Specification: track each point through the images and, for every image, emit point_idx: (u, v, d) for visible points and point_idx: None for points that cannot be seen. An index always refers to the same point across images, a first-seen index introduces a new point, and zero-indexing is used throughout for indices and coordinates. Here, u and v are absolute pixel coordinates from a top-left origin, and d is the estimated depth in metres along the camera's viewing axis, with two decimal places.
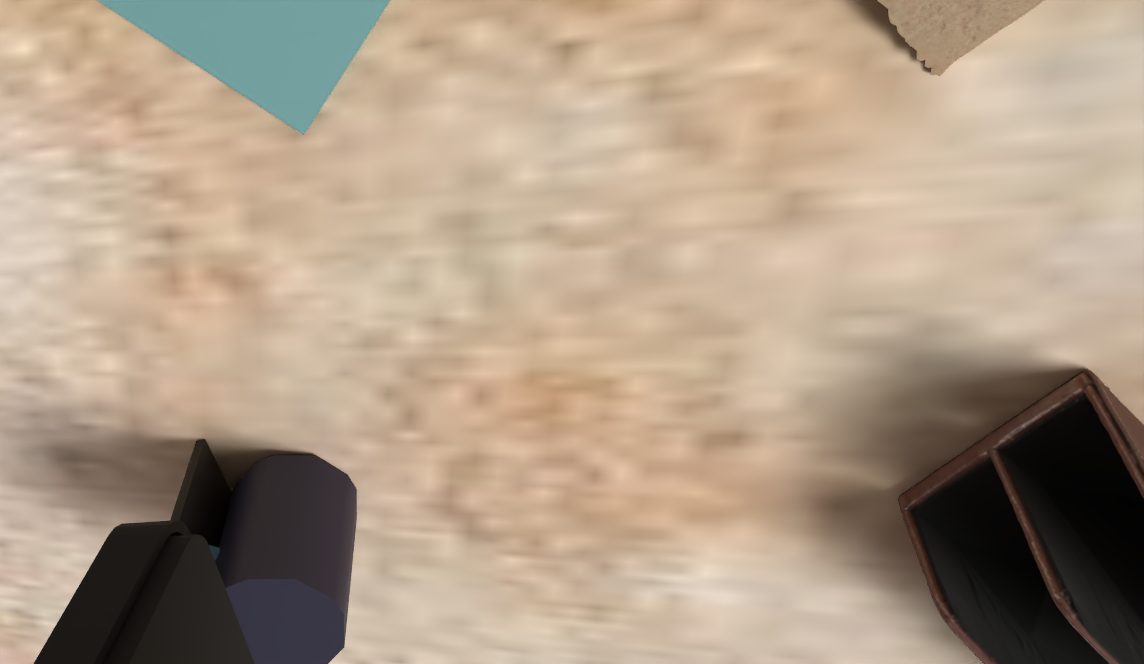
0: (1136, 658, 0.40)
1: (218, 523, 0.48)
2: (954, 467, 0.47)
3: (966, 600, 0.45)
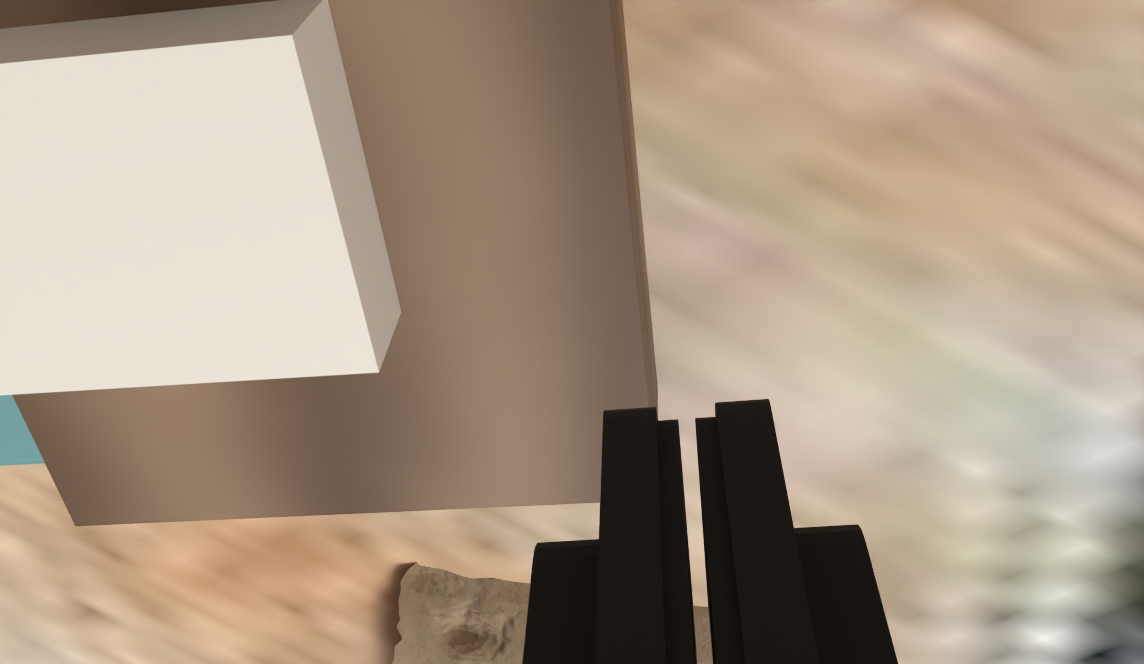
0: None
1: None
2: None
3: None
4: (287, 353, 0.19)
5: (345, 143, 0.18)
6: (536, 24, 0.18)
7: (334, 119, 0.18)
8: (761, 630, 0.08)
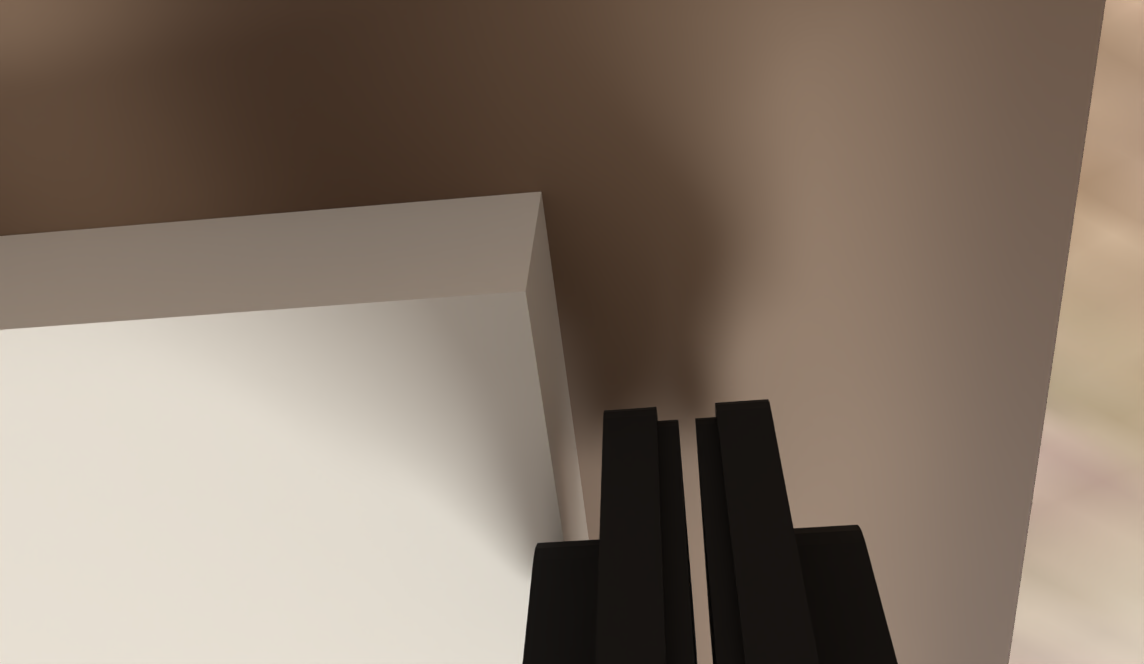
0: None
1: None
2: None
3: None
4: None
5: (562, 415, 0.12)
6: (950, 235, 0.11)
7: (555, 390, 0.11)
8: (761, 630, 0.08)
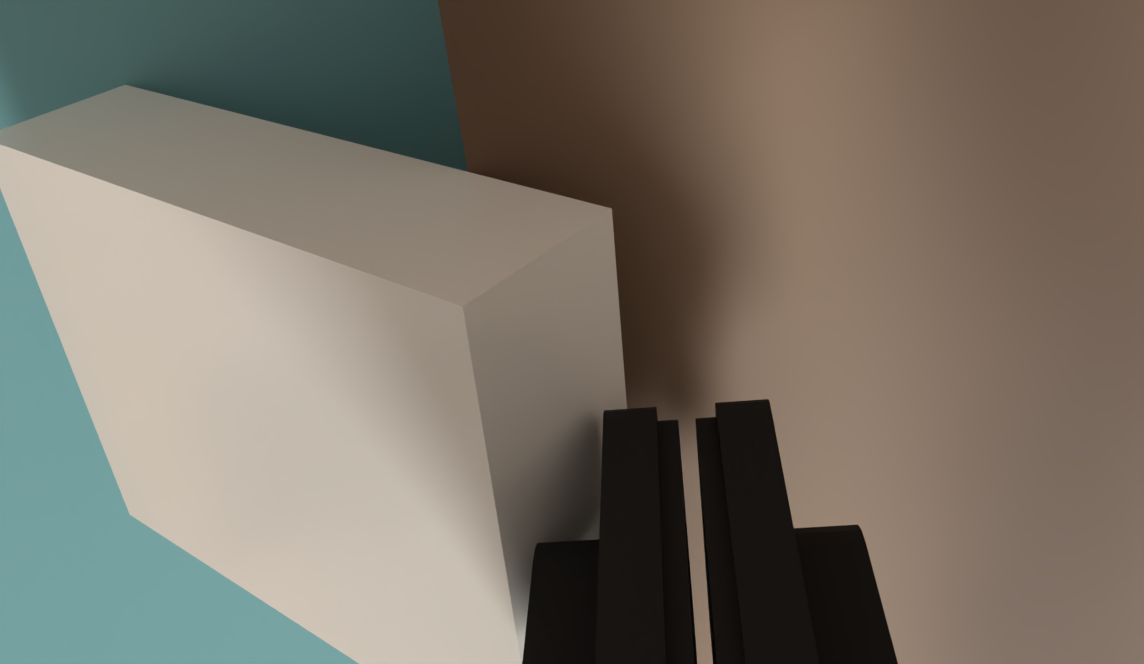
0: None
1: None
2: None
3: None
4: None
5: (576, 447, 0.11)
6: None
7: (554, 419, 0.10)
8: (762, 630, 0.08)
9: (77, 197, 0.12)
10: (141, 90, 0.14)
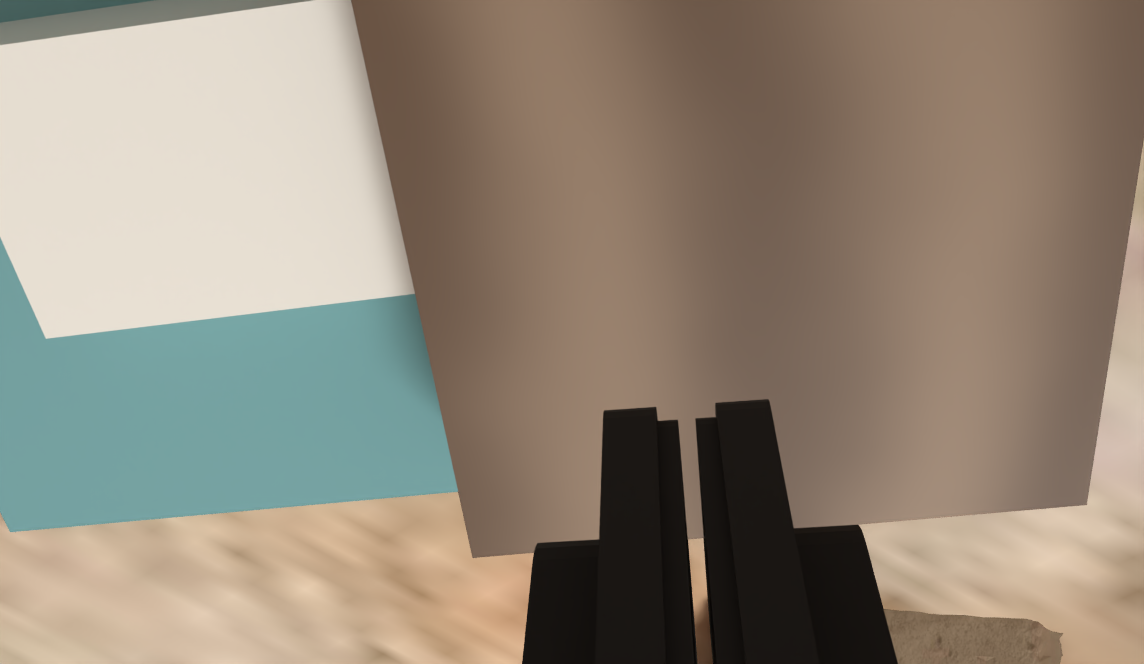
0: None
1: None
2: None
3: None
4: (342, 279, 0.22)
5: None
6: (1086, 25, 0.18)
7: None
8: (762, 630, 0.08)
9: (32, 61, 0.20)
10: None
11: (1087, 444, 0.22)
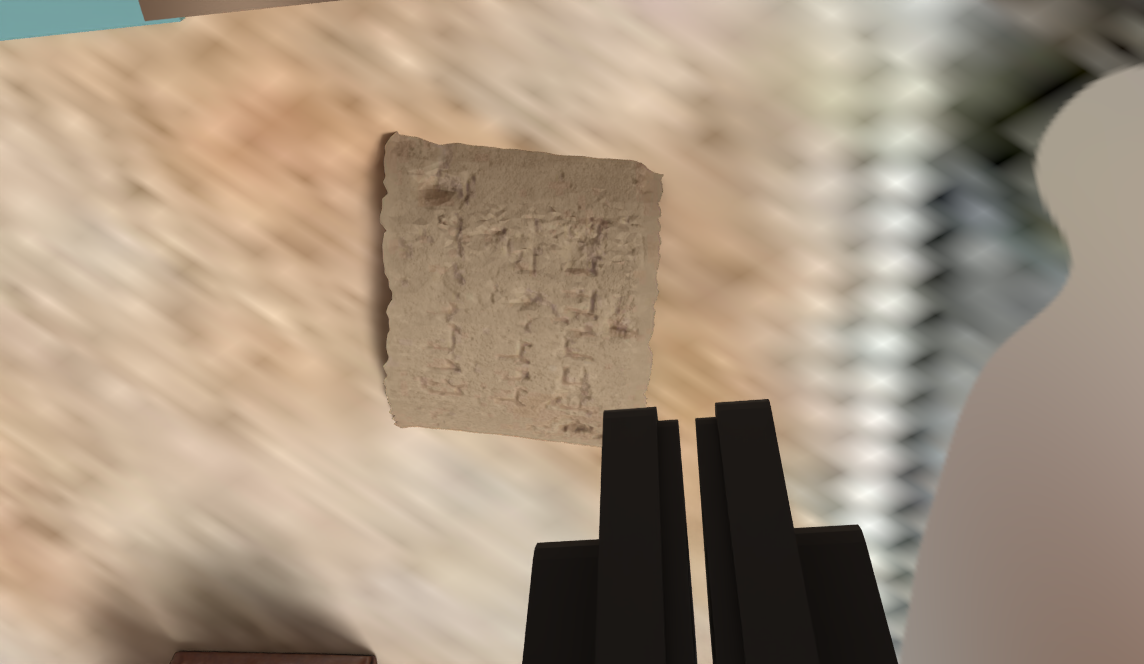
0: None
1: None
2: (233, 660, 0.52)
3: None
4: None
5: None
6: None
7: None
8: (761, 630, 0.08)
9: None
10: None
11: None
